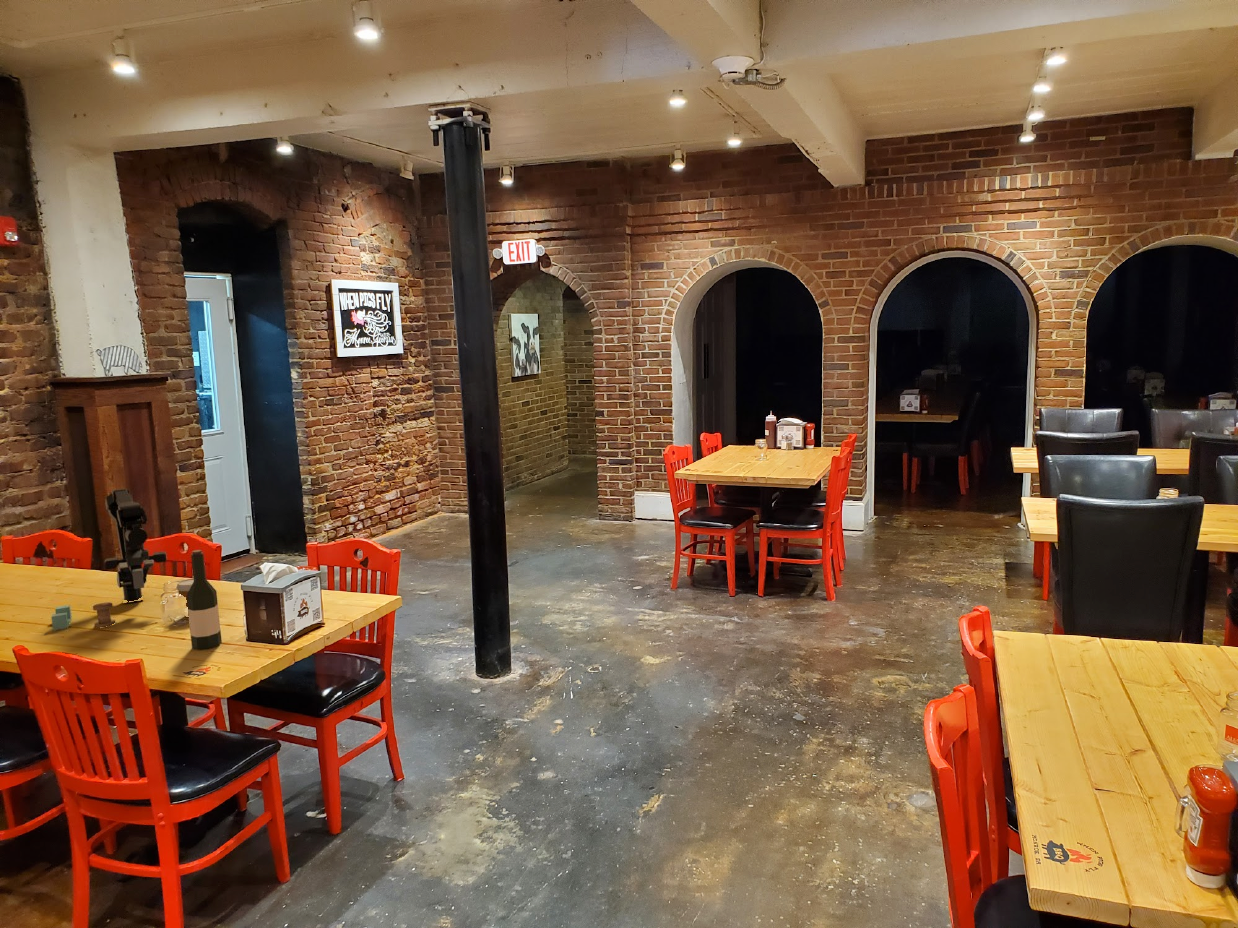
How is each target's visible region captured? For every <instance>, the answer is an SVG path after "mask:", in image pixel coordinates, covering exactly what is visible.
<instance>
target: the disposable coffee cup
mask: <svg viewBox="0 0 1238 928" xmlns="http://www.w3.org/2000/svg"><path fill="white" fill-rule="evenodd" d="M193 582H194V578H193V577H192V578H187V579H182V580H180V581H178V582H177V583H176V584H177V585H176V586H175V587H176V588H175V589H177V592H178V595H179V594H181V595H183V596H184V597H186V596H187V594H188V592H189V590H190V588H191V586H192V584H193ZM186 600H187V598H186ZM186 606H187V603H186Z"/></svg>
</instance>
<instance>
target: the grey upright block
mask: <svg viewBox="0 0 1238 928" xmlns="http://www.w3.org/2000/svg"><path fill="white" fill-rule="evenodd" d="M132 575H133V583H134V589H138V588H141V589H143V588H145V584H144V581H143V568H142V569H135V570H133V571H132Z"/></svg>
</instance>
